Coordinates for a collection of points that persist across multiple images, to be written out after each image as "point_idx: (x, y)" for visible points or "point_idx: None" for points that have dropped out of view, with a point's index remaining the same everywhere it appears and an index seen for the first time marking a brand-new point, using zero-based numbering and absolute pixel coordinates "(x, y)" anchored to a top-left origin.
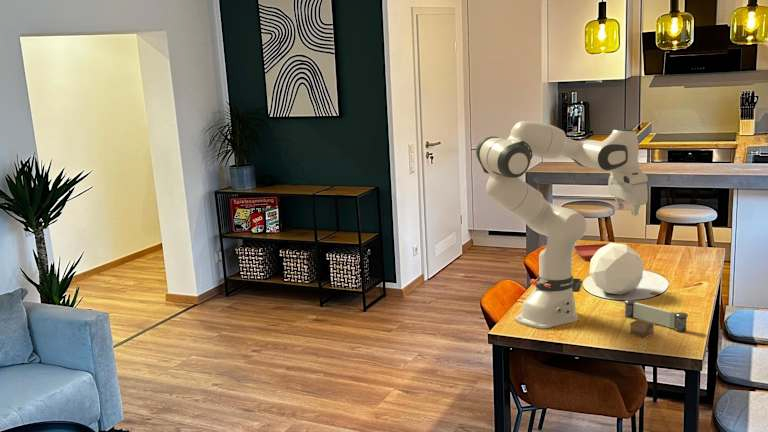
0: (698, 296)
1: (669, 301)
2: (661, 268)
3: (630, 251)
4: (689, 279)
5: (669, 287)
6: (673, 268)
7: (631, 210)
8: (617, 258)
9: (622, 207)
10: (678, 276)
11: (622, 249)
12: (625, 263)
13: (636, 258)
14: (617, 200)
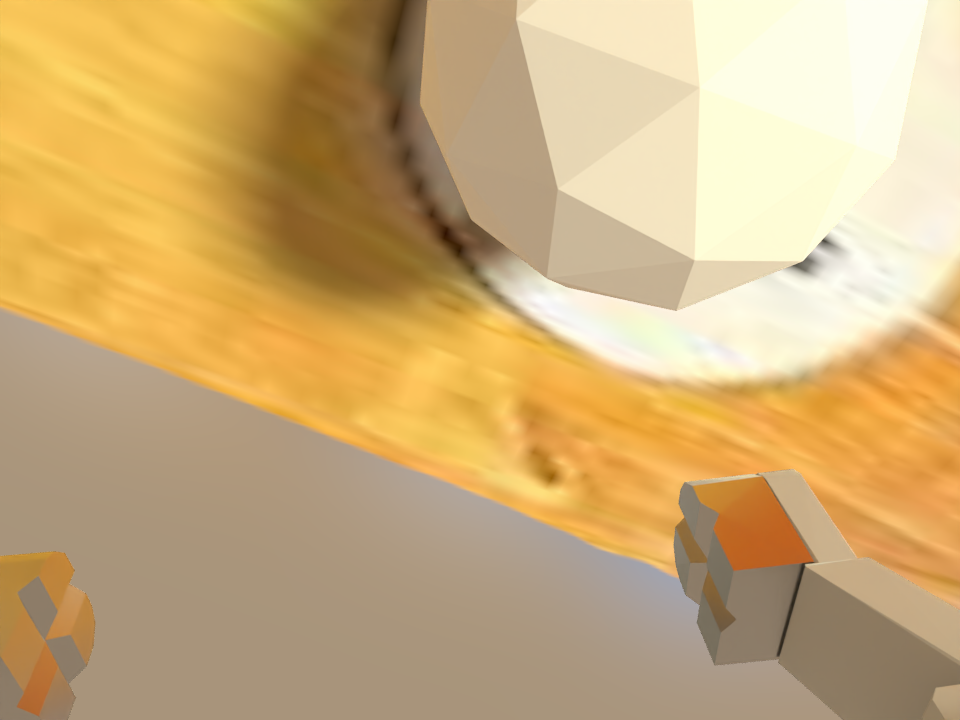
0: (364, 405)
1: (315, 248)
2: (833, 423)
3: (587, 236)
4: (622, 462)
5: (550, 344)
6: (799, 464)
7: (4, 648)
8: (523, 44)
9: (692, 567)
10: (686, 441)
11: (617, 170)
12: (472, 101)
13: (520, 241)
14: (928, 673)
